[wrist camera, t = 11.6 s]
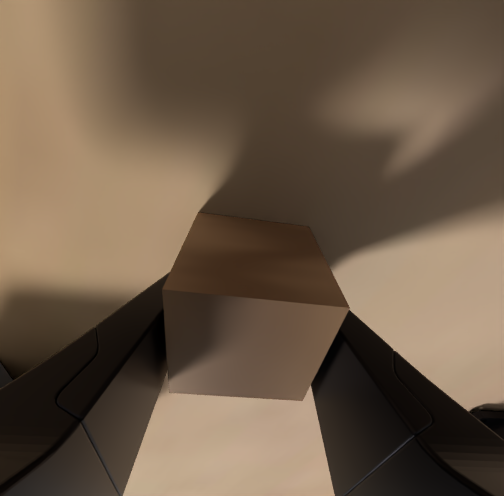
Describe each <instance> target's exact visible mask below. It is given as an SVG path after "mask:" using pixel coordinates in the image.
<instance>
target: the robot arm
mask: <svg viewBox="0 0 504 496" xmlns="http://www.w3.org/2000/svg"><path fill="white" fill-rule="evenodd" d="M169 274H170V272H169V273H168V274H166V275H165V276H164V277H162V278H161V279H159V280H158V281H157V282H155V283H154V284H153V285H151V286H150V287H148V288H147V289H146V290H144V291H143V292H142V293H140V294H139V295H137V296H136V297H135V298H133V299H132V300H131V301H129V302H128V303H126V304H125V305H124V306H122V307H121V308H120V309H118V310H117V311H115V312H114V313H113V314H111V315H110V316H108V317H107V318H106V319H104V320H103V321H102V322H100V323H99V324H97V325H96V328H95V327H93V328H92V329H90V330H89V331H88V332H86V333H85V334H83V335H82V336H81V337H79V338H78V339H76V340H75V341H74V342H72V343H71V344H69V345H68V346H66V347H65V348H63V349H62V350H61V351H59V352H58V353H56V354H54V355H53V356H51V357H50V358H48V359H47V360H45V361H44V362H42V363H40V364H39V365H37V366H36V367H34V368H33V369H31V370H29V371H28V372H26V373H25V374H23V375H21V376H20V377H18V378H17V379H15V380H13V381H12V382H10V383H8V384H7V385H5V386H4V387H2V388H0V496H123V493H124V490H125V487H126V485H127V482H128V479H129V476H130V473H131V471H132V468H133V465H134V462H135V459H136V457H137V454H138V451H139V448H140V446H141V443H142V440H143V437H144V434H145V432H146V429H147V426H148V423H149V420H150V418H151V415H152V412H153V409H154V406H155V404H156V401H157V398H158V395H159V392H160V390H161V387H162V384H163V381H164V378H165V376H166V373H167V370H168V367H167V353H166V338H165V323H164V309H163V294H162V289H163V286H164V284H165V282H166V280H167V278H168V276H169ZM311 387H312V392H313V397H314V401H315V406H316V411H317V415H318V420H319V424H320V429H321V434H322V438H323V443H324V448H325V452H326V457H327V461H328V466H329V471H330V475H331V480H332V484H333V489H334V494H335V496H504V412H492V411H478V412H474V413H472V414H471V413H469V412H468V411H467V410H466V409H464V408H463V407H462V406H461V405H459V404H458V403H457V402H456V401H454V400H453V399H452V398H451V397H449V396H448V395H447V394H446V393H444V392H443V391H442V390H441V389H439V388H438V387H437V386H436V385H435V384H433V383H432V382H431V381H430V380H428V379H427V378H426V377H425V376H424V375H422V374H421V373H420V372H419V371H418V370H417V369H415V368H414V367H413V366H412V365H411V364H410V363H408V362H407V361H406V360H405V359H404V358H403V357H402V356H401V355H399V354H398V353H397V352H396V351H394V350H393V348H392V347H390V346H389V345H388V344H387V343H386V342H385V341H384V340H383V339H381V338H380V337H379V336H378V335H377V334H376V333H375V332H374V331H372V330H371V329H370V328H369V327H368V326H367V325H366V324H365V323H363V322H362V321H361V320H360V319H359V318H358V317H357V316H356V315H355V314H353V313H352V312H351V311H350V310H349V311H348V313H347V315H346V317H345V319H344V320H343V322H342V324H341V326H340V328H339V330H338V332H337V334H336V336H335V338H334V340H333V342H332V344H331V346H330V348H329V350H328V352H327V354H326V356H325V358H324V360H323V362H322V364H321V365H320V367H319V369H318V371H317V373H316V375H315V377H314V379H313V381H312V383H311Z"/></svg>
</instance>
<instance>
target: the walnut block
mask: <svg viewBox="0 0 504 496" xmlns="http://www.w3.org/2000/svg"><path fill="white" fill-rule="evenodd" d="M162 294H163V309H164V323H165V338H166V353H167V367H168V382H169V393H180V394H197V395H213V396H230V397H246V398H263V399H279V400H296V401H303V399H304V397H305V395H306V393H307V391H308V389H309V387H310V385H311V383H312V381H313V379H314V377H315V375H316V373H317V371H318V369H319V367H320V365H321V364H322V362H323V360H324V358H325V356H326V354H327V352H328V350H329V348H330V346H331V344H332V342H333V340H334V338H335V336H336V334H337V332H338V330H339V328H340V326H341V324H342V322H343V320H344V319H345V317H346V315H347V313H348V311H349V309H350V307H349V305H348V303H347V301H346V299H345V297H344V295H343V293H342V291H341V289H340V287H339V286H338V284H337V282H336V280H335V278H334V276H333V274H332V272H331V270H330V268H329V266H328V264H327V262H326V260H325V258H324V256H323V254H322V252H321V250H320V248H319V246H318V244H317V242H316V240H315V238H314V236H313V234H312V232H311V230H310V228H309V227H307V226H299V225H292V224H284V223H276V222H269V221H261V220H253V219H246V218H238V217H230V216H223V215H215V214H207V213H200V212H198V214H197V216H196V218H195V220H194V222H193V224H192V227H191V229H190V231H189V233H188V235H187V237H186V239H185V242H184V244H183V246H182V248H181V250H180V252H179V254H178V257H177V259H176V261H175V263H174V265H173V267H172V269H171V272H170V274H169V276H168V278H167V280H166V282H165V284H164V286H163V289H162Z"/></svg>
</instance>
